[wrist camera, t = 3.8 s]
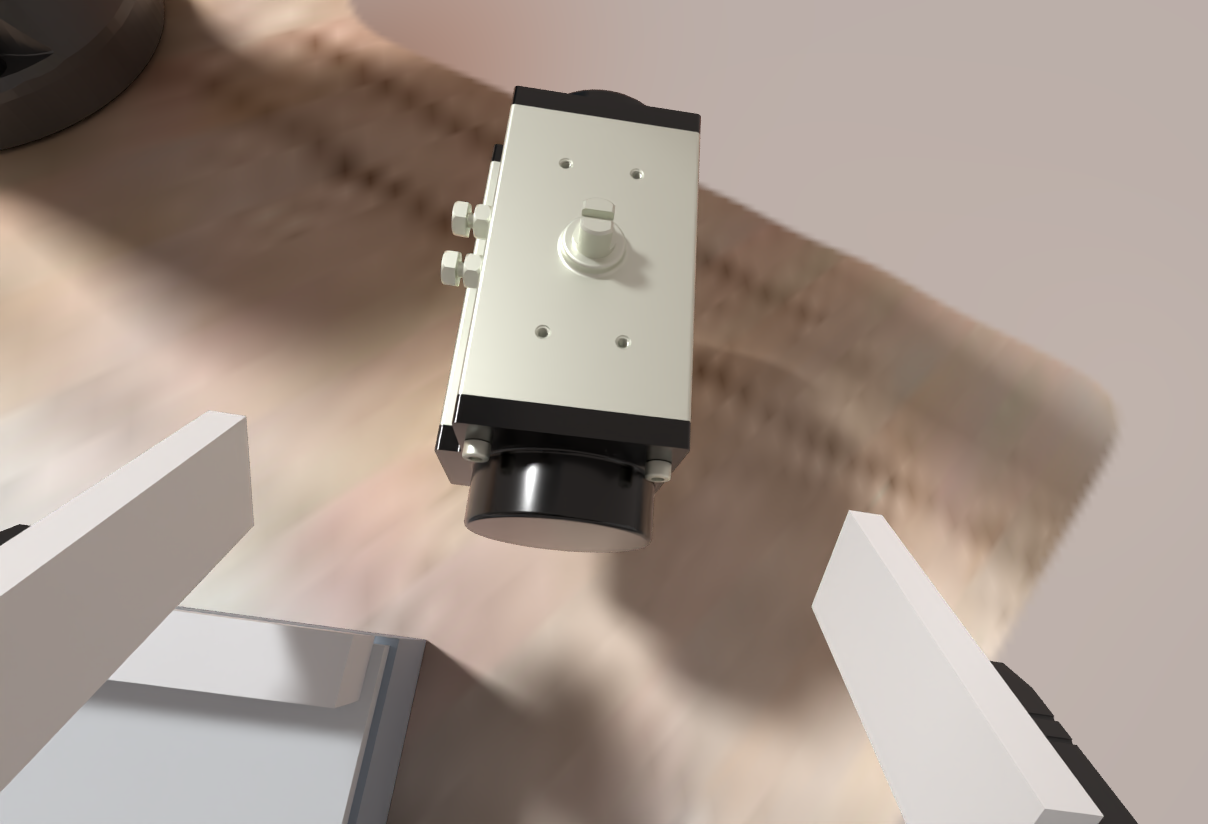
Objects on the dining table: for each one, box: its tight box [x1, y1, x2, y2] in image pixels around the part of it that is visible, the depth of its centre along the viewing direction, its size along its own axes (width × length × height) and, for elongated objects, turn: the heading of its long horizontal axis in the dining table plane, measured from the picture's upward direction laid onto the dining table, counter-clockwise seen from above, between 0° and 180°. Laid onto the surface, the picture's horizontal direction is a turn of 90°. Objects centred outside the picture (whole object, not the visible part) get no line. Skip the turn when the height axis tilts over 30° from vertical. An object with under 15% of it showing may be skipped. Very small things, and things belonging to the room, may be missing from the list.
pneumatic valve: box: [435, 86, 701, 553], centre depth 18 cm, size 6×12×12 cm, turn 175°
